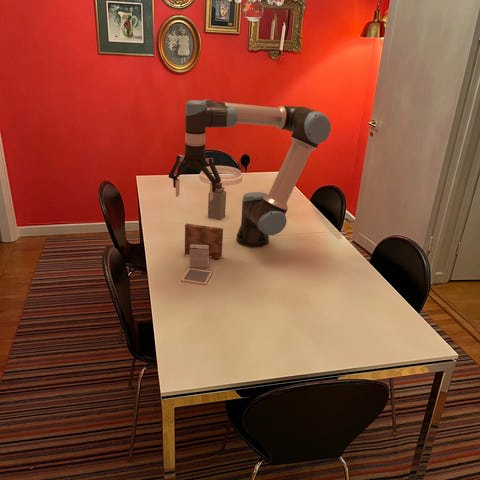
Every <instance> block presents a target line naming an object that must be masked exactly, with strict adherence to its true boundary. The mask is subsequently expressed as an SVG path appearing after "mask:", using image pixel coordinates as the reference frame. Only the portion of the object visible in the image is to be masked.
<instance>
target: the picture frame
mask: <svg viewBox="0 0 480 480" xmlns="http://www.w3.org/2000/svg"><path fill="white" fill-rule="evenodd" d="M212 275H213V271H211V270H205V269H197V268H193V267H188V268H187V270H186V271H185V273H184V275H182V278H180V282H182V283H187V284H196V285H201V286H202V285H203V286H207V284H208V282H209V280H210V278H211V277H212Z"/></svg>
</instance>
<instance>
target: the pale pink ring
mask: <svg viewBox="0 0 480 480" xmlns="http://www.w3.org/2000/svg"><path fill="white" fill-rule="evenodd" d="M206 167H207V169H208V170H209V171H210V173H211V174H213V173H212V170H211V168H210V166H206ZM215 167H216V169H217V172H218V174H227V175H233V176H220V178H221V181H220V183H222V187H225V186H233V185H237V184H240V183H242V182H243V174H242V171H241V170H240V169H239V168H236V167H234V166H228V165H215ZM199 174H200V175H199V179H200V181H202V182H203V183H204V184H205V183H206V184H209V185H210V184H211V181H210V180H209V179H208V177H207V176H206V175H205V173H204V172H203V171H202V170H201V171H200V172H199ZM213 177H214V175H213ZM214 178H215V177H214Z"/></svg>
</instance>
